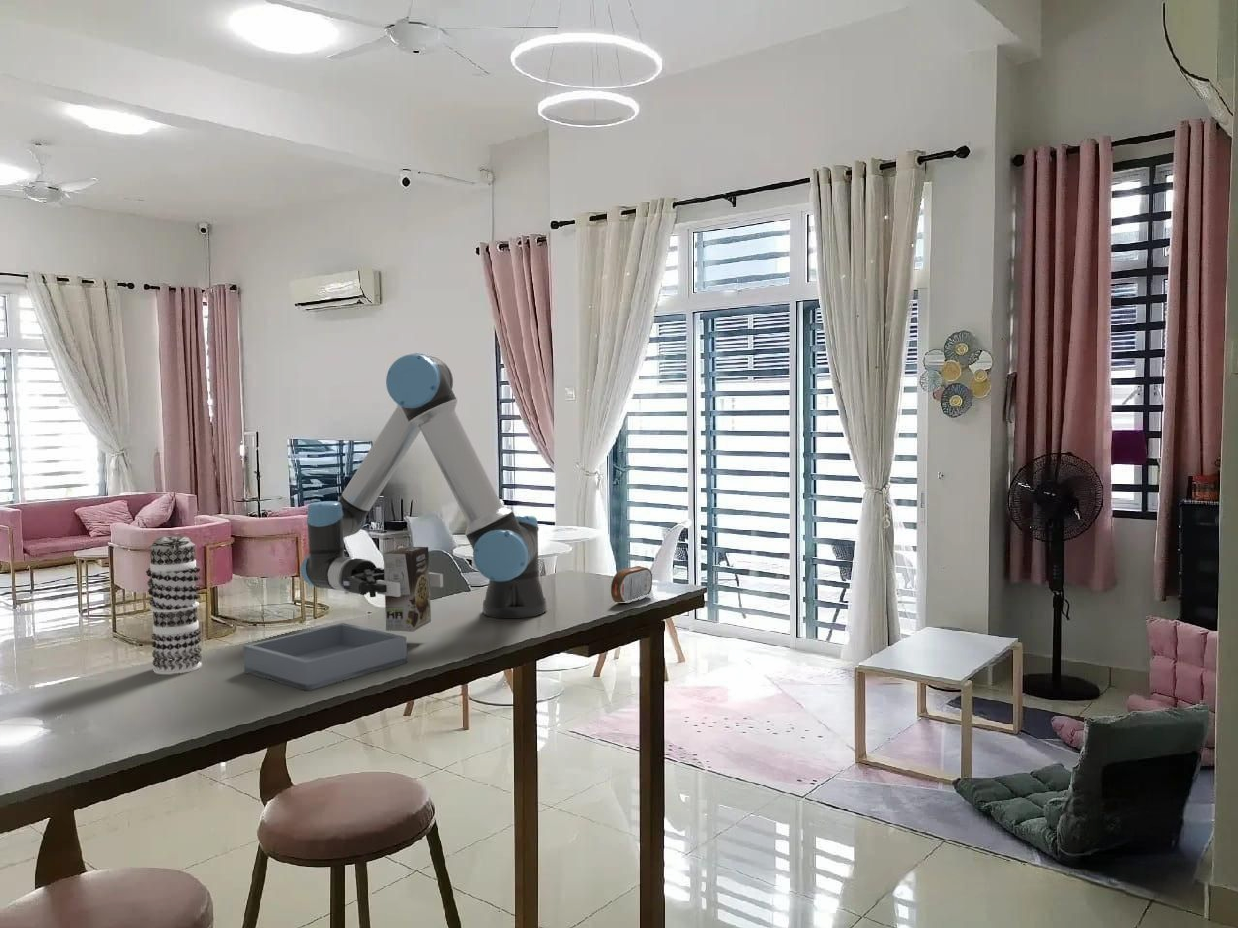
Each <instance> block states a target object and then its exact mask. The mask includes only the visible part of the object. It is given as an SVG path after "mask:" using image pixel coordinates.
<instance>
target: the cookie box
mask: <svg viewBox="0 0 1238 928" xmlns="http://www.w3.org/2000/svg"><path fill="white" fill-rule="evenodd" d="M429 555H430V554H429V546H409V547H402V546H401V547H399V548H395V549H392V550H390V551H387V552H384V553H383V569H384V579H385V581H390V582H397V583H400V593H401V596H400V597H395V596H389V595H384V602H385V603H384V606H385V631H387V632H388V631H390V632H415V631H417V630H418V629H420V628H422V627H424V626H426V625H427V624H429V623H431V622H432V615H431V614H432V610H431V607H432V606H431V590H430V589H431V586H430V581H429V572H430V560H429V557H430V556H429Z"/></svg>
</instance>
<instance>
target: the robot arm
mask: <svg viewBox="0 0 1238 928" xmlns="http://www.w3.org/2000/svg"><path fill="white" fill-rule="evenodd" d="M385 379H386V380H385V385H386V386H385V387H386V390H387V392H388V394H389V396H390V398H391V399H392V400H393V402H394V403H396V405H397V406H396V408H395V410H393V413H392V414H391V416H390V417H389V419H388V420H387V421H386V423H385V425H384V427H383V428H382V430H381V432H380V433H379V435H378V436H377V438H376V440H375V441H374V442H373V444H372V446H371V447H370V449H369V450H368V452H367V454H366V455H365V456H364V459H363V460H362V461H361V463H360V465H359V466H358V468H357V469H356V471H355V472H354V474H353V476H352V477H351V479H350V480H349V482H348V483H347V485H346V487H345V489H344V490H343V491H342V493H341V495H340V497H339V498H338V500H337V501H336V500H335V501H333V500H332V501H331V500H326V501H325V500H324V501H316V502H311V503H310V504H308V506H307V517H306V523H307V533H308V535H307V536H308V551H309V552H308V555H307V556H306V557H304V558H303V560H302V563H301V566H300V575H301V578H302V580H303V581H304V582H305V583H306V584H307V585H310V586H313V587H316V588H319V589H326V590H328V589H329V590H335V591H341V592H344V594H345V595H348V594H350V593H352V594H358V595H361V596H365V595H367V594H368V593H369V597H370V598H376V597H377V595H383V596H385V595H389V596H395V597H400V596H401V593H400V583H397V582H390V581H385V579H384V567H377V566H376V564H375V563H374V562H373V561H371V559H370V560H369V559H365V558H357V557H348V556H345V547H344V545H345V544H344V543H345V542H344V541H345V540H344V538H347V537H350V536H353V535H355V534H357V533H358V532H359V531H360V530H362V529H363V527H365V524H366V519H367V518H366V517H367V516H368V513H369V512H370V511H371V509H372V507H373V506H374V504H375V502H376V501H377V499H378V498H379V496H380V495H381V493H382V491H383V490H384V488H385V487H386V485H387V483H389V481H390V479H391V477H393V474H394V473H395V472H396V470H397V468H398V467H399V465H400V463H401V462H402V461H403V459H404V457H405V456H406V454H407V452H408V451H409V449H410V448H411V446H412V445H413V443H414V442H415V440H416V439H417V437H418V435H419V434H420V432H421V434H422V435H423V437H424V440H425V441H426V444H427V445H428V447H429V449H430V451H431V453H432V455H433V457H434V459H435V461H436V463H437V465H438V468H439V469H440V471H441V473H442V475H443V477H444V479H445V482H446V483H447V485H448V486H449V489H450V491H451V493H452V495H453V497H454V499H455V502H456V504H457V505H458V507H459V509H460V511H461V514H462V515H463V518H464V519H465V521H466V524H467V527H466V530H465V532H464V534H465V536H466V538H467V540H468V542H469V544H470V547H471V549H472V556H473V557H472V558H473V563H474V566H475V567H476V569H477V571H478V572H479V573H480V574H481V575H482V576H483V577H485V578H486V579H488V580H489V581H488V585H487V588H486V592H485V598H484V600H483V602H482V614H483V615H485V616H487V617H492V618H498V619H523V618H529V617H530V618H531V617H535V616H540V615H542V613H543V614H545V613H546V612H547V607H548V605H547V600H546V598H545V597H544V591H543V588H542V585H541V582H540V577H539V576H540V575H539V529H540V527H539V526H538V518H536V517H535V516H533V515H515V513H514V511H513V510H512V509H510V508H507V507H504V506H503V504H502V502H501V500H500V499H499V498H500V497H498V494H497V492H496V490H495V488H494V487H493V484H492V482H491V480H490V478H489V477H488V474H487V472H486V470H485V468H484V466H483V465H482V463H481V460H480V458H479V456H478V455H477V453H476V451H475V448H474V446H473V445H472V443H471V440H470V438H469V436H468V434H467V432H466V431H465V429H464V427H463V425H462V422H461V420H460V419H459V416H458V415H457V412H456V407H457V402H458V399H457V397H456V396H455V394H454V391H453V387H454V379H453V373H452V371H451V369H450V368H449V366H448V365H447V364H446V363H445V362H444V361H442V360H441V359H439V358H437V357H435V356H430V355H426V354H424V353H416V352H415V353H408V354H405V355H403V356H400V357H399V358H397V359H396V360H395V361H393V363H392V364H391V365H390V367H389V368H388V371H387V374H386V378H385ZM429 581H430V587H435V588H443V587H444V574H443V573H437V572H430V571H429ZM545 611H546V612H545ZM544 612H545V613H544ZM539 614H540V615H539Z"/></svg>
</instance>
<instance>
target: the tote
mask: <svg viewBox="0 0 1238 928" xmlns="http://www.w3.org/2000/svg"><path fill="white" fill-rule="evenodd" d="M407 642H408V641H407V636H404V635H401V634H400V635H399V634H394V633H391V632H385V631H381V630H376V629H372V628H368V627H367V628H366V627H362V626H357V625H354V624H353V625H352V624H350V623H349V624H348V623H344V622H342V623H341V622H340V623H337V624H333V625H329V626H324V627H319V628H316V629H311V630H307V631H302V632H298V633H294V634H289V635H284V636H280V637H275V638H271V639H267V640H262V641H258V642H254V643H249V644H244V645H242V646H243V647H242V648H243V672H244V673H246V672H247V673H246V674H249V675H252V674H253V676H256V677H259V678H262V679H266V678H268V679H267V680H269V679H271V680H270V681H272V680H275V681H278V682H277V683H279V682H281V683H280V684H282V683H284V684H283V685H285V684H287V686H289V687H291V688H292V687H293V688H295V687H296V689H299V690H303V691H304V692H305V691H306V692H308V691H313V690H315V689H318V688H319V689H320V688H323V687H326V686H330V685H333V684H336V682H337V683H340V682H344V681H347V680H351V679H354V678H357V677H361V676H364V675H368V674H371V673H375V672H378V671H381V670H386V669H389V668H392V667H393V668H394V667H396V666H397V667H398V666H401V665H403V664H407V663H408V652H407V651H408V648H407V646H408V645H407V644H408V643H407ZM350 678H351V679H350ZM343 680H344V681H343ZM275 681H274V682H275Z"/></svg>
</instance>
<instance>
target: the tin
mask: <svg viewBox="0 0 1238 928" xmlns="http://www.w3.org/2000/svg"><path fill="white" fill-rule="evenodd" d="M652 585H653V574H652V571H651V570H650V569H649V568H648V567H645V566H644V567H643V566H641V565H636V566H632V567H629V568H623V569H620V570H619V571H617V572H616V574H615V575H614V577H613V579H612V581H611V584H610V593H611V597H612V600H613V601H614V602H615V603H616V602H625V601H628V600H632V599H635V598H638V597H640V596H643V595H647V594H649V595H650V593H651V591H652Z"/></svg>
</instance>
